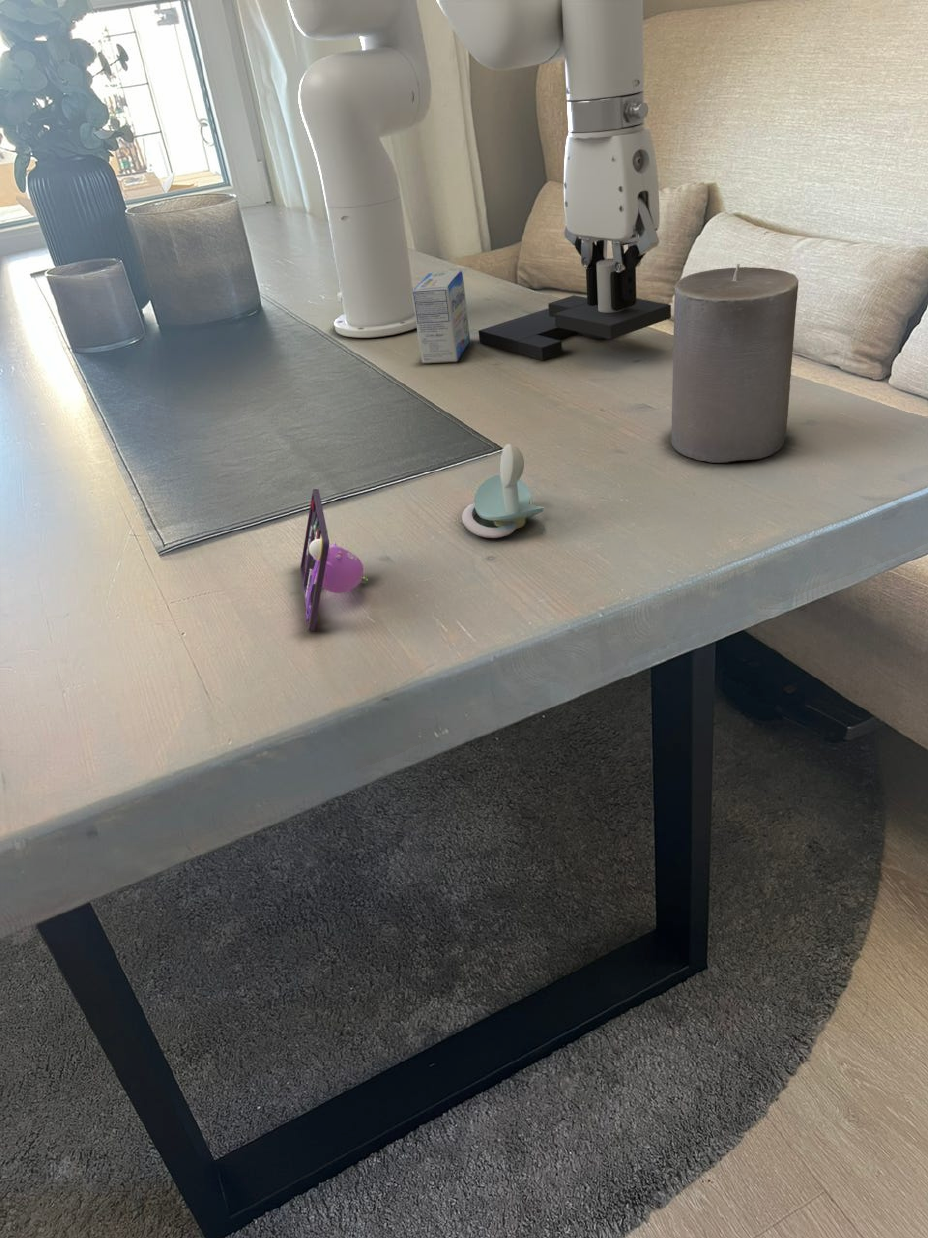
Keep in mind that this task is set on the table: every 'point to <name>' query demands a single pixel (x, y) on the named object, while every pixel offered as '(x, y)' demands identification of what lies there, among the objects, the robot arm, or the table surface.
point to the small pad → (606, 311)
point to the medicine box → (441, 317)
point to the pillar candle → (732, 362)
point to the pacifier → (502, 499)
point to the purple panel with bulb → (325, 563)
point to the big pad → (529, 335)
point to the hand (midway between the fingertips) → (611, 303)
